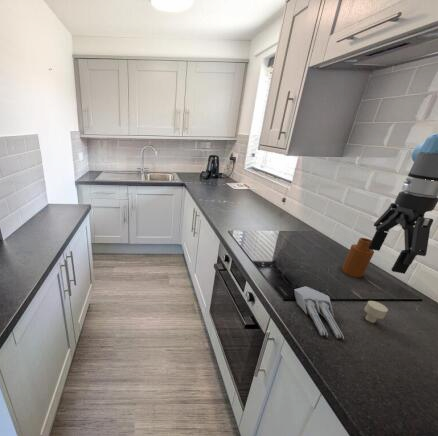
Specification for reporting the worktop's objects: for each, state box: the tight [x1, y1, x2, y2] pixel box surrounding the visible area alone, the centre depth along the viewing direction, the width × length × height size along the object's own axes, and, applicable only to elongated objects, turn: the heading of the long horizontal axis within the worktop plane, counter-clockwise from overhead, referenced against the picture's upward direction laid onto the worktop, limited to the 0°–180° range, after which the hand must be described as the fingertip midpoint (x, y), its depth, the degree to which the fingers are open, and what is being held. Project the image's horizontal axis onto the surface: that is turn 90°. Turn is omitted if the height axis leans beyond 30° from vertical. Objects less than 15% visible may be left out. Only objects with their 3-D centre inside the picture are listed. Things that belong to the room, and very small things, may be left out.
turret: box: [293, 285, 345, 340], centre depth 77 cm, size 10×20×5 cm, turn 170°
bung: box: [363, 300, 389, 324], centre depth 75 cm, size 5×5×6 cm
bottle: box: [341, 237, 375, 278], centre depth 98 cm, size 7×7×16 cm
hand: (384, 259), depth 71 cm, fingers open, 13 cm apart
